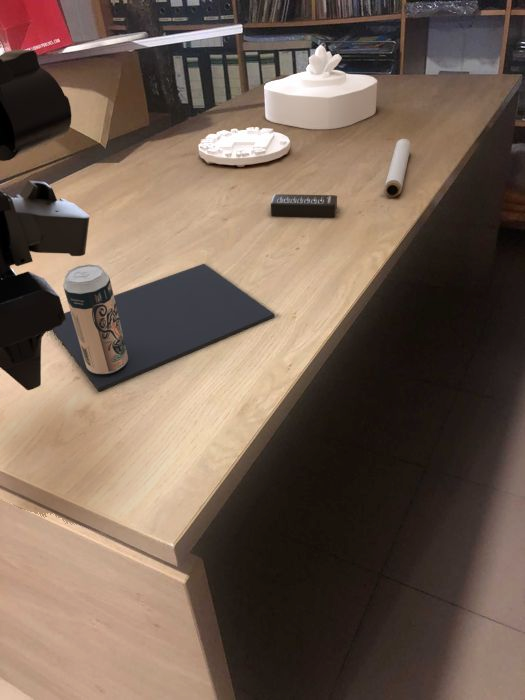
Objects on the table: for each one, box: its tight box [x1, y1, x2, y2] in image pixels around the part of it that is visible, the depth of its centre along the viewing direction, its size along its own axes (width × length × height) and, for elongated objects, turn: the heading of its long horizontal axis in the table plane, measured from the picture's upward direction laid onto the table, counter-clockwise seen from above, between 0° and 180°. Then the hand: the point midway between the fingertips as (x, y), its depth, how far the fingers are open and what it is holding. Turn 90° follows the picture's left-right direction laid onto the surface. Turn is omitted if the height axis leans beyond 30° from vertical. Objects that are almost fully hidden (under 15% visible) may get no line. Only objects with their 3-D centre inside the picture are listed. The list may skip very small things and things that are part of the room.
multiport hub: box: [270, 193, 338, 219], centre depth 102 cm, size 4×11×2 cm, turn 79°
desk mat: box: [51, 263, 275, 392], centre depth 77 cm, size 24×18×1 cm
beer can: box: [62, 263, 128, 374], centre depth 65 cm, size 5×5×12 cm
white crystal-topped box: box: [263, 44, 378, 131], centre depth 149 cm, size 25×25×16 cm
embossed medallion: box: [198, 126, 291, 168], centre depth 130 cm, size 20×20×3 cm
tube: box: [384, 138, 412, 198], centre depth 114 cm, size 3×3×25 cm
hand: (17, 360), depth 51 cm, fingers open, 9 cm apart
